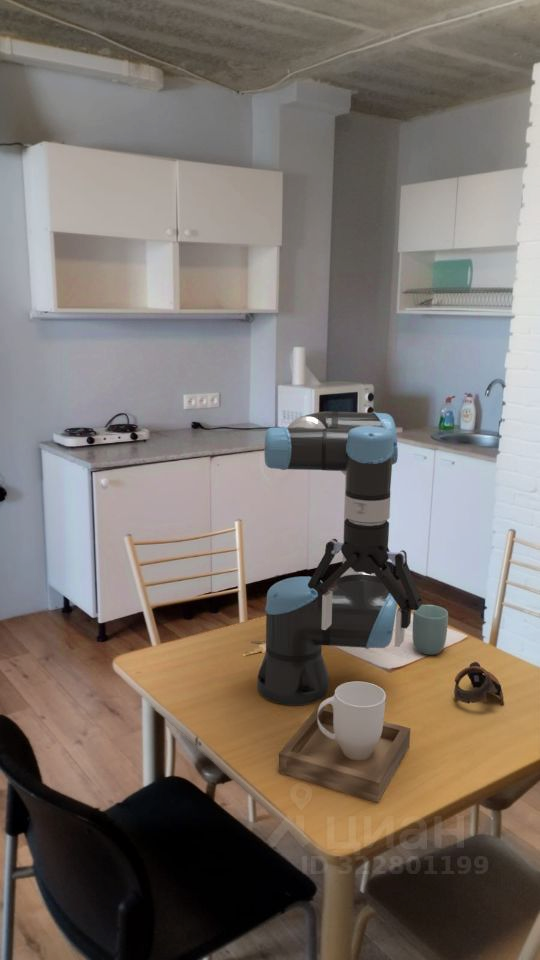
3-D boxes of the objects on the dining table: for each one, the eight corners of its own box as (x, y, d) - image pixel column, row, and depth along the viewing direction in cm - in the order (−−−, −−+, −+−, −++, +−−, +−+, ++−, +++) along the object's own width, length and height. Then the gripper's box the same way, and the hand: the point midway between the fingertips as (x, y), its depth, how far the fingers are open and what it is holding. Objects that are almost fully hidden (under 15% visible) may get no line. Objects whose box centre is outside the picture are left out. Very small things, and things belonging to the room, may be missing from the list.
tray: (278, 772, 131) (278, 753, 130) (318, 722, 147) (319, 704, 146) (378, 802, 123) (379, 782, 122) (409, 746, 139) (410, 728, 138)
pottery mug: (512, 715, 151) (499, 687, 148) (467, 730, 153) (453, 702, 150) (498, 673, 162) (484, 646, 158) (455, 687, 164) (442, 661, 160)
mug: (381, 739, 139) (384, 681, 136) (383, 770, 130) (387, 708, 127) (316, 736, 140) (318, 677, 137) (315, 766, 131) (317, 704, 128)
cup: (420, 640, 182) (422, 601, 180) (450, 649, 178) (453, 609, 176) (405, 652, 176) (407, 612, 174) (437, 661, 172) (439, 620, 169)
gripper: (290, 514, 130) (288, 628, 136) (432, 537, 119) (425, 660, 124) (309, 503, 137) (306, 612, 142) (446, 524, 125) (437, 642, 131)
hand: (362, 635), depth 133 cm, fingers open, 13 cm apart
